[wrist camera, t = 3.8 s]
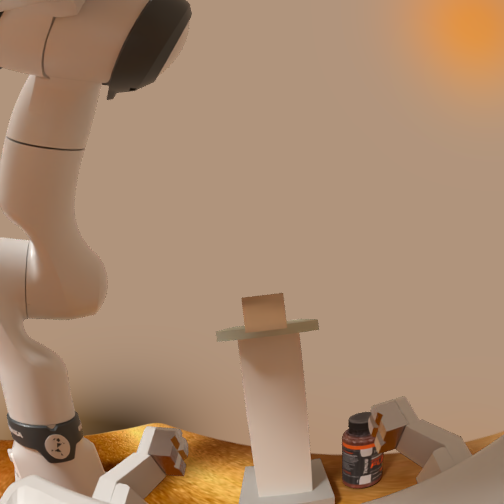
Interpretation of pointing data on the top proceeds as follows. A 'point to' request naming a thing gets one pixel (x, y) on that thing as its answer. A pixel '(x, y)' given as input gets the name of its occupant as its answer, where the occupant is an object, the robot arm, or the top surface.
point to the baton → (264, 313)
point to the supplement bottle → (360, 454)
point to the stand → (278, 418)
